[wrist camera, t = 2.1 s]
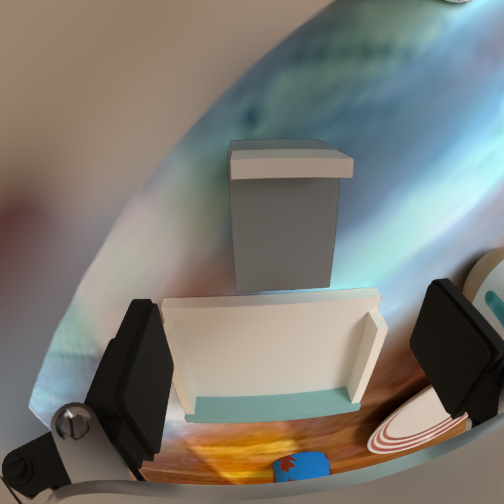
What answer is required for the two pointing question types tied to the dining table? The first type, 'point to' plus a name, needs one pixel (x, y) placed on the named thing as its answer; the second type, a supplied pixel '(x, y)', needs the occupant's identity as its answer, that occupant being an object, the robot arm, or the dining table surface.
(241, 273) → the lidded gray box
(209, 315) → the loading dock
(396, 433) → the dinner plate
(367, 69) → the dining table surface
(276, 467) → the thermos
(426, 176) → the dining table surface
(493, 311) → the vase
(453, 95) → the dining table surface
